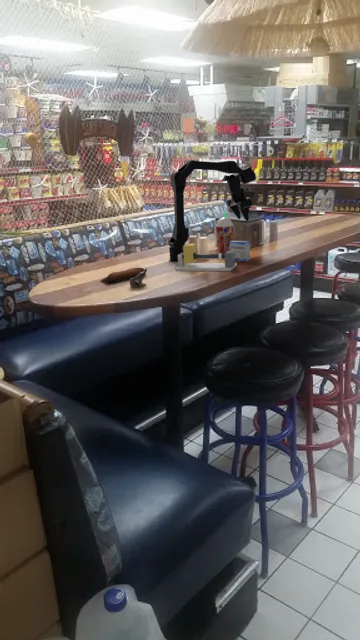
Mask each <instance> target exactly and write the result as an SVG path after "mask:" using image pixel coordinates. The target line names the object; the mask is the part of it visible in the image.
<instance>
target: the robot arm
mask: <svg viewBox="0 0 360 640" xmlns="http://www.w3.org/2000/svg"><path fill="white" fill-rule="evenodd" d="M194 170H202V171H217V172H218V173H219V172H220V173H223V174H225V175H224V176H223V177H222V179H221V181H222V182H227V186H228V190H229V191H228V194H229V195H230V198H228V199H226V201H225V203H226V206H227V207H228V208H229V209H230V210H231V212H232V213H233V214H234V216H235V217H236V218H237V220H240V219H241V218H242V217H243V218H244V220H245V221H246V222H248V221H250V220H249V217H250V209H251V207H253V204H254V202H253V199H255V198H256V197H255V196H256V191H255V190H250V189H249V188H244V187H242V184H243V185H246V184H249V183H252V182H255V181H256V179H257V175H256V173H255V171H254V169H253V167H252V166H247V167H246V168H241V167H240V166H239V165H238V163H237V162H236V161H235V160H223V161H222V160H221V161H217V162H216V161H203V160H201V161H200V160H194V159H190V160H188V161H186V163H185V164H183V166H181V167H180V168H178V169H177V170H176V171H173V172H172V173H171V174H170V176H169V179H170V184H171V187H172V188H171V189H172V191H173V205H174V206H173V209H174V225H173V228H172V235H171V238H170V239H169V240H168V241H167V243H168V246H169V248H168V249H169V259H168V262H178V255H181V253H184V251H183V246H184V245H186V244H187V242H188V240H189V237H190V235H189V232H190V228H189V227H188V226H186V224H185V200H184V194H185V193H184V192H185V188H186V183H187V179H188V177H189V176H190V175H191V174H192V172H193V171H194ZM227 174H230V175H227ZM235 174H236V175H235ZM251 198H252V199H251ZM241 216H242V217H241Z"/></svg>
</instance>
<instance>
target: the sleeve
mask: <svg viewBox="0 0 360 640" xmlns="http://www.w3.org/2000/svg"><path fill="white" fill-rule="evenodd" d="M183 251H184V263H197V261H198V259H194V258H193V254H197V244H196V243H185V245H184V246H183Z"/></svg>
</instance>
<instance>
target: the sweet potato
mask: <svg viewBox="0 0 360 640" xmlns="http://www.w3.org/2000/svg"><path fill="white" fill-rule="evenodd" d="M143 270H145V268H143V267H130V268H128V269H125V270H120V271H113V272H111V273H109V274H108V275H107V276H105V277H104V278H102V279H100V280H99V282H100V283H103V284H106V285H109V284H113V283H117V282H119V281H122V280H126V279H131V278H134V277H136V276H137V275H138V274H139V273H140V272H142V271H143ZM145 274H146V275H147V272H146V273H145Z"/></svg>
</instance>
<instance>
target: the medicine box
mask: <svg viewBox="0 0 360 640" xmlns="http://www.w3.org/2000/svg"><path fill="white" fill-rule="evenodd" d="M250 243H251V241H250V240H233V241H231V242H230V251H235V262H248V261H251V254H250V253H251V249H250V246H251V245H250Z"/></svg>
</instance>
